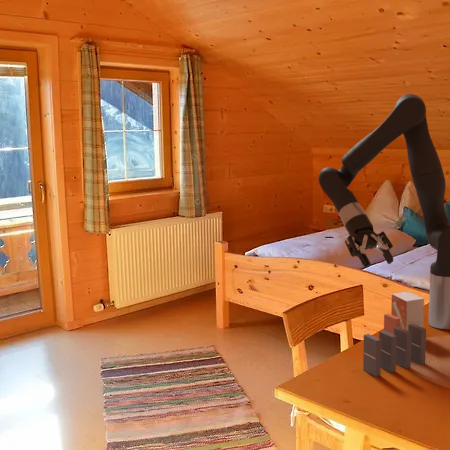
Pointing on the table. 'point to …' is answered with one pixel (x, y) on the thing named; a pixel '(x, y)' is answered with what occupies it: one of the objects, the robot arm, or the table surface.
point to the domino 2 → (391, 323)
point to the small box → (408, 309)
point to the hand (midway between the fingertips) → (379, 264)
